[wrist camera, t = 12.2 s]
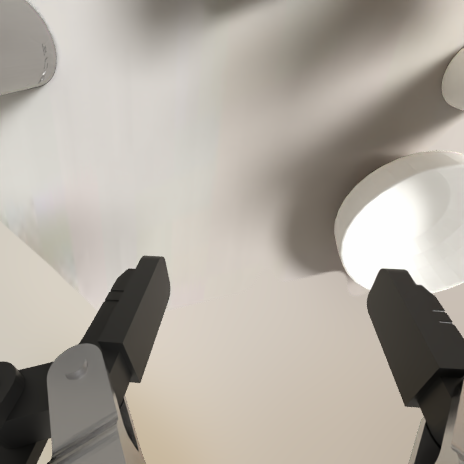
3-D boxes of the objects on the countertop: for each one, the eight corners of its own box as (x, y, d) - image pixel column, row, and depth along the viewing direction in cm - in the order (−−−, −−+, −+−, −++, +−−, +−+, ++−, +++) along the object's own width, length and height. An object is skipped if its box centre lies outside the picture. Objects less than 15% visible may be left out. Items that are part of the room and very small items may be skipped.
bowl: (302, 191, 39) (312, 224, 32) (457, 103, 31) (512, 122, 24) (358, 273, 47) (374, 313, 41) (490, 220, 39) (539, 259, 33)
